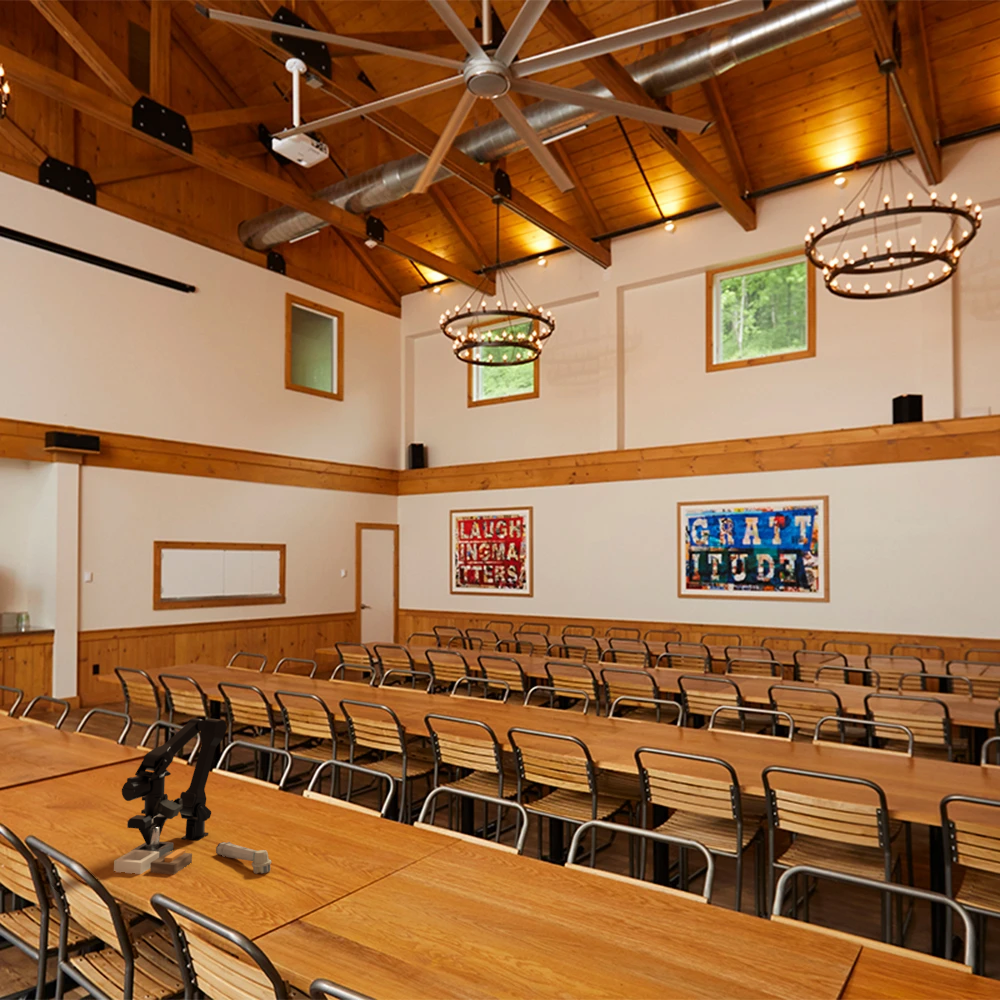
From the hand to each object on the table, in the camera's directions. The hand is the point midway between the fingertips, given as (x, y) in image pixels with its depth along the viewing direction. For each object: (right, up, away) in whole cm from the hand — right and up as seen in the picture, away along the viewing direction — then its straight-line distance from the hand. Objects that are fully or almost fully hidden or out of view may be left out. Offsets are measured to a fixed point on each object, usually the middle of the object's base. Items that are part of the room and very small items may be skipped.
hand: (152, 842), depth 248 cm
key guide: (+11, -3, -10) cm, 15 cm away
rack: (0, -3, -11) cm, 11 cm away
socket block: (0, -4, 0) cm, 4 cm away
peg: (0, -3, 0) cm, 3 cm away
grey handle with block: (+31, -4, -7) cm, 32 cm away
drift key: (+11, -3, -9) cm, 15 cm away
